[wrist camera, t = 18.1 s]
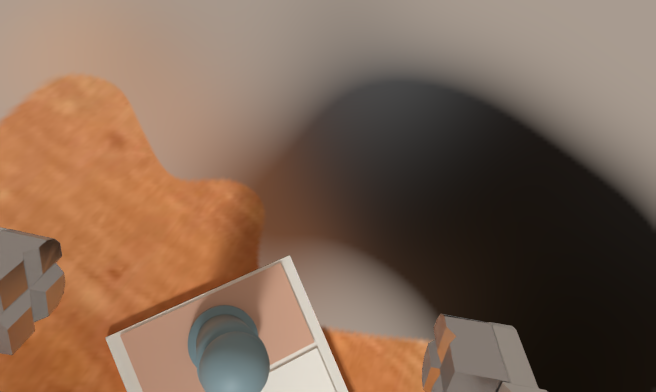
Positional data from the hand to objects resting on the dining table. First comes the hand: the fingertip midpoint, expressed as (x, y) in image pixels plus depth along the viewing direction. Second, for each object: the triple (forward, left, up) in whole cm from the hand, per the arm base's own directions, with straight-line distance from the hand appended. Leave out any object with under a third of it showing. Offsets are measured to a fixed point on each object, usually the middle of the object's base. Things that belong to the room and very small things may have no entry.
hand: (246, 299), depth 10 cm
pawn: (-1, -4, -28) cm, 29 cm away
